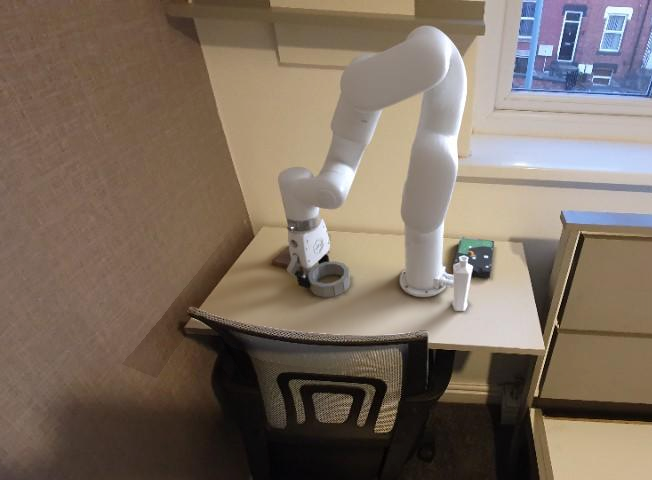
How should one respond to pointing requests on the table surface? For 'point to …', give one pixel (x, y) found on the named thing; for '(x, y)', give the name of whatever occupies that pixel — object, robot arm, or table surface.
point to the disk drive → (477, 255)
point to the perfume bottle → (461, 283)
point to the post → (284, 259)
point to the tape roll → (329, 288)
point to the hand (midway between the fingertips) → (314, 275)
